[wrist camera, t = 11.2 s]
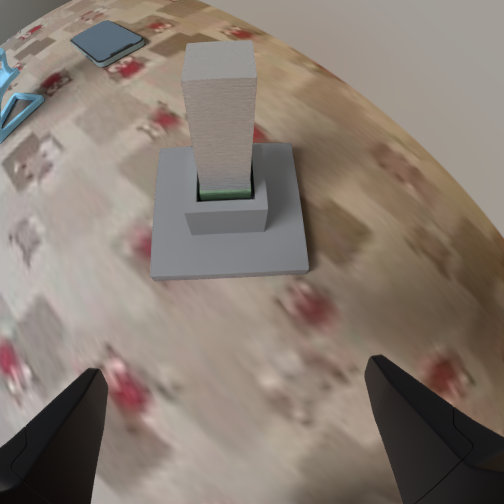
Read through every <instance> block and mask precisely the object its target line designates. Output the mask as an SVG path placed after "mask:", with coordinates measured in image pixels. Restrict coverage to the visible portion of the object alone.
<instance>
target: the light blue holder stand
mask: <svg viewBox="0 0 504 504" xmlns="http://www.w3.org/2000/svg"><path fill="white" fill-rule="evenodd" d="M0 61H2V67H3V69H0V143H1V142H2V141H3V140H4V139H5V138H6V137H7V136H8V135H9V134H10V133H11V132H12V131H13V130H14V129H15V128H16V127H17V126H18V125H19V124H20V123H21V122H22V121H23V120H24V119H25V118H26V117H27V116H28V115H29V114H30V113H32V112H33V111H34V110H35V109H36V108H37V107H38V106H39V105H40V104H41V103H42V102H43V101H44V99H43V97H42V95H35V94H26V93H17V92H16V93H14V94H13V95H12V96H11V98H10V99H9V101H8V102H7V104H6V106H5V107H4V109H3V111H2V112H1V101H2V97H3V95H4V93H5V91H6V90H7V88H8V86H9V85H10V83H11V82H12V81H13V80H14V79H15V78H16V77H17V76H18V75H19V73H20V72H19V70H18V68H10V67H9V66H8V64H7V59H6V54H5V50H4V49H2V48H0ZM17 99H23V100H30V101H33V102H32V103H31V104H30V105H29V106H28V107H26V108H25V109H24V110H23V111H22V112H21V113H20V114H18V115H17V116H16V117H15V118H14V119H13V120H12V121H11V122H10V123H9V124H8V125H7V126H6V127H5V128H4V129H3V130H2V124H3V123H4V121H5V119H6V117H7V115H8V113H9V111H10V110H11V108H12V106H13V104H14V103H15V101H16V100H17Z"/></svg>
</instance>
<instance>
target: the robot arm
mask: <svg viewBox="0 0 504 504" xmlns="http://www.w3.org/2000/svg"><path fill="white" fill-rule="evenodd" d="M365 382H366V386H367V390H368V394H369V398H370V402H371V407H372V411H373V415H374V418H375V421H376V424H377V426H378V429H379V432H380V435H381V438H382V441H383V443H384V446H385V449H386V452H387V455H388V458H389V461H390V464H391V467H392V470H393V473H394V476H395V479H396V482H397V485H398V488H399V492H400V495H401V498H402V501H403V504H504V437H502V436H501V435H499V434H497V433H495V432H493V431H492V430H490V429H488V428H486V427H485V426H483V425H481V424H479V423H478V422H476V421H474V420H473V419H471V418H470V417H468V416H467V415H465V414H464V413H462V412H461V411H459V410H458V409H457V408H455V407H453V406H452V405H451V404H450V403H448V402H447V401H445V400H444V399H443V398H441V397H440V396H438V395H437V394H436V393H434V392H433V391H432V390H430V389H429V388H427V387H426V386H425V385H423V384H422V383H420V382H419V381H418V380H416V379H415V378H414V377H412V376H411V375H409V374H408V373H407V372H405V371H404V370H403V369H401V368H400V367H398V366H397V365H396V364H394V363H393V362H391V361H390V360H389V359H387V358H386V357H385V356H383V355H374V356H371V357H370V358H369V360H368V363H367V367H366V370H365ZM107 396H108V385H107V382H106V380H105V378H104V376H103V374H102V371H101V370H100V369H98V368H88V369H87V370H86V371H84V372H83V373H82V374H81V375H80V376H79V377H78V378H77V379H76V380H75V381H73V382H72V383H71V384H70V385H69V386H68V387H67V388H66V389H65V390H64V391H62V392H61V393H60V394H59V395H58V396H57V397H56V398H55V399H54V400H53V401H52V402H51V403H49V404H48V405H47V406H46V407H45V408H44V409H43V410H42V411H41V412H40V413H39V414H38V415H36V416H35V417H34V418H33V419H32V420H31V421H30V422H29V423H28V424H27V425H26V427H24V428H22V429H21V430H20V431H19V432H18V433H17V434H16V435H15V436H14V437H13V438H11V439H10V440H9V441H8V442H7V443H5V444H4V445H3V446H2V447H1V448H0V504H91V498H92V491H93V485H94V479H95V473H96V467H97V461H98V456H99V451H100V446H101V441H102V436H103V431H104V424H105V414H106V405H107Z"/></svg>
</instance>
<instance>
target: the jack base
mask: <svg viewBox="0 0 504 504" xmlns="http://www.w3.org/2000/svg"><path fill="white" fill-rule="evenodd" d="M250 184H251V198H233V199H212V200H201V197H200V184H199V178H198V173H197V168H196V163H195V158H194V152H193V147H192V146H187V147H175V148H163V149H160V153H159V162H158V171H157V180H156V191H155V203H154V215H153V230H152V248H151V274H150V277H151V278H152V279H153V280H154V281H161V280H189V279H214V278H236V277H256V276H275V275H293V274H306V273H307V272H308V270H309V263H308V255H307V247H306V240H305V232H304V225H303V218H302V210H301V204H300V197H299V190H298V184H297V177H296V171H295V165H294V158H293V152H292V147H291V143H253V144H252V159H251V174H250Z"/></svg>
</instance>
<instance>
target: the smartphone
mask: <svg viewBox="0 0 504 504" xmlns="http://www.w3.org/2000/svg"><path fill="white" fill-rule="evenodd" d="M71 43H72V44H73V45H74V46H75V47H76V48H77V49H78V50H79V51H81V52H82V53H83V54H84V55H85V56H86V57H87V58H89V59H90V60H91V61H92V62H94V63H95V64H96V65H97V66H98V67H105V66H108V65H109V64H111V63H113V62H115V61H116V60H118V59H120V58H122V57H124V56H126V55H127V54H129V53H131V52H133V51H135V50H137V49H139V48H141V47H142V46H143V45H144V44H145V43H144V39H143V38H142V37H140V36H139V35H137V34H135V33H133V32H131V31H129V30H127V29H125V28H123V27H121V26H119V25H117V24H115V23H113V22H111V21H108V20H106V21H102V22H100V23H98V24H96V25H95V26H93V27H91V28H89V29H87V30H85V31H83V32H82V33H80V34H78V35H76V36H75V37H73V38H72V40H71Z"/></svg>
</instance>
